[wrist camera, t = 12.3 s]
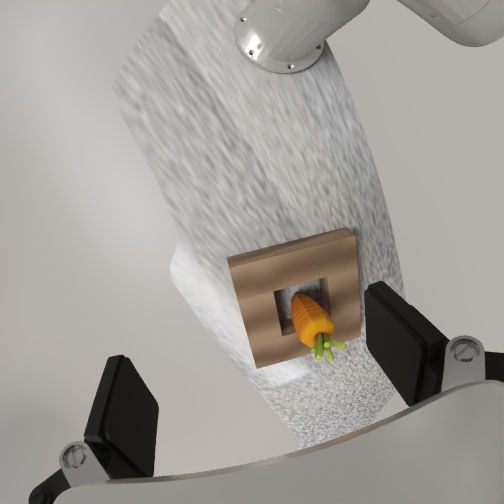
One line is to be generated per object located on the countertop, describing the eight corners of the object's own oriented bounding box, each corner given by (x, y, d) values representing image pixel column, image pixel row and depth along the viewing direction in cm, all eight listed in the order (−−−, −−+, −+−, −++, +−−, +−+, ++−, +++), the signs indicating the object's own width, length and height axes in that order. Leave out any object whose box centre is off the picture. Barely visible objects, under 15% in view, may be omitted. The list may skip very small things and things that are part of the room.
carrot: (315, 284, 47) (356, 340, 33) (303, 311, 49) (338, 371, 35) (286, 277, 46) (321, 335, 32) (275, 305, 47) (304, 368, 33)
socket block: (226, 257, 43) (229, 268, 40) (343, 227, 45) (355, 235, 41) (252, 353, 50) (256, 368, 46) (351, 324, 51) (360, 336, 47)
